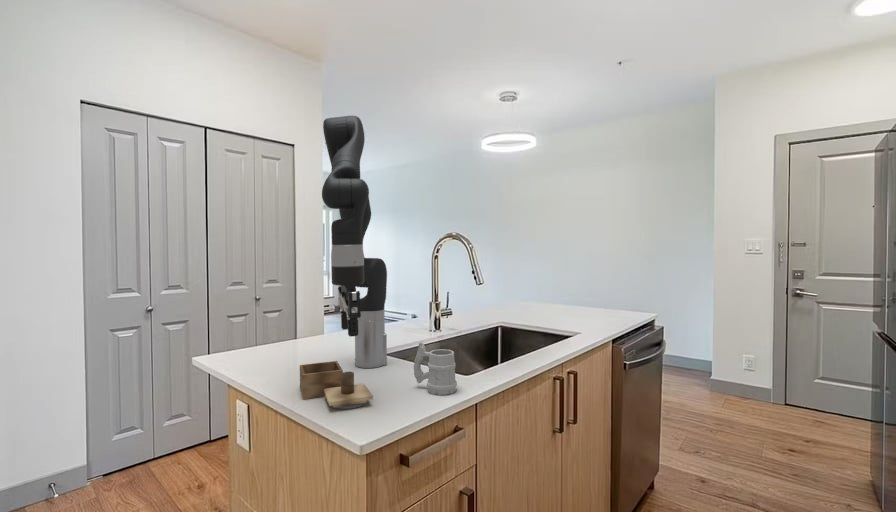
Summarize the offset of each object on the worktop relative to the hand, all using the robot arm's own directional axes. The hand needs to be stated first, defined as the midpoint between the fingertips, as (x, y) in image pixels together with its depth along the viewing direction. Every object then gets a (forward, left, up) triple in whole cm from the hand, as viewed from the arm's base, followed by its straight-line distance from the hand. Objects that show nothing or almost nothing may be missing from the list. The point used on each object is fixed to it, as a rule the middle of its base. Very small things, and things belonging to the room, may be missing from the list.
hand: (349, 332), depth 102 cm
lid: (+1, 0, -15) cm, 15 cm away
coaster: (+1, 0, -17) cm, 17 cm away
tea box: (+6, -11, -17) cm, 21 cm away
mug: (-21, 0, -17) cm, 27 cm away
